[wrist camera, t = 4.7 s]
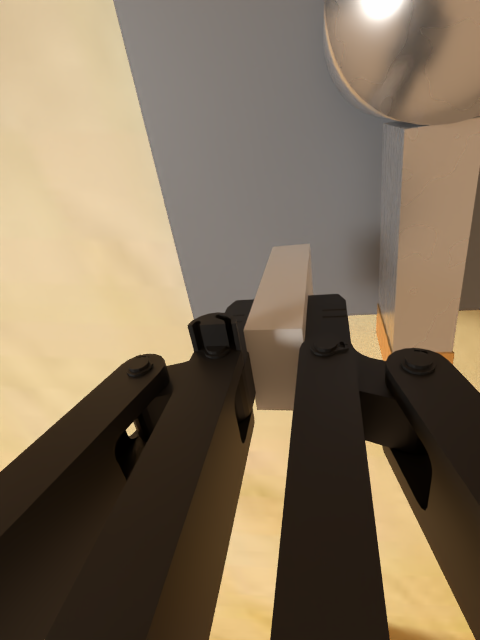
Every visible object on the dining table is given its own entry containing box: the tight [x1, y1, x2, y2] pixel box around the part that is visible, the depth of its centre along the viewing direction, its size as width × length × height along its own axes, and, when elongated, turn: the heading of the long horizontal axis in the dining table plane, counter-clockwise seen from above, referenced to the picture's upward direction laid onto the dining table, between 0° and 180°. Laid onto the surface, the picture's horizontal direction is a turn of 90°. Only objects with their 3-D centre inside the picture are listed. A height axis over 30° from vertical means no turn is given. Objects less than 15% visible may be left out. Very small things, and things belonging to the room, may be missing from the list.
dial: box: [323, 0, 480, 364], centre depth 13 cm, size 15×6×6 cm, turn 9°
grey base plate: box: [113, 0, 480, 319], centre depth 14 cm, size 22×24×2 cm
